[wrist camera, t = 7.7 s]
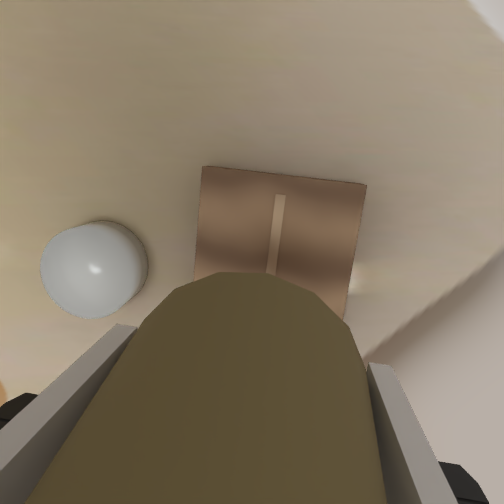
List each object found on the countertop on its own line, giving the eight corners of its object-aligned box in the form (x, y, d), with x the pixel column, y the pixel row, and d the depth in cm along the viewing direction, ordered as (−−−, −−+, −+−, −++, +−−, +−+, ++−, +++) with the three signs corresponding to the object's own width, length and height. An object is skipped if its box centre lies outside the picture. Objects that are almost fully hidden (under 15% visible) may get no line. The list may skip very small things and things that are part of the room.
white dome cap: (59, 223, 35) (32, 230, 31) (142, 218, 34) (124, 224, 31) (74, 304, 37) (49, 320, 33) (153, 301, 36) (137, 317, 32)
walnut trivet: (209, 166, 33) (201, 166, 30) (361, 183, 32) (367, 185, 29) (197, 306, 36) (190, 317, 33) (335, 326, 35) (339, 339, 32)
